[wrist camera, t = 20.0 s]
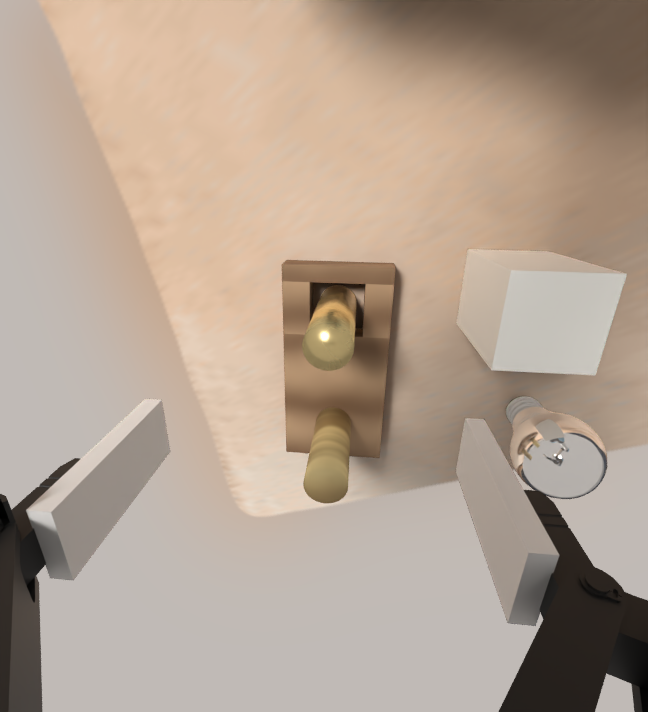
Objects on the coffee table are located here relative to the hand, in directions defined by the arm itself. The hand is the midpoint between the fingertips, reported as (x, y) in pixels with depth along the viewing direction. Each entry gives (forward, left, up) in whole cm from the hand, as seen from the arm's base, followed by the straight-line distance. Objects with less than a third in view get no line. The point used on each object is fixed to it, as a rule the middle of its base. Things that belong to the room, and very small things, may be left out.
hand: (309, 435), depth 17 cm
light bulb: (+10, +19, -23) cm, 31 cm away
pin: (0, 0, -23) cm, 23 cm away
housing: (-2, +15, -23) cm, 27 cm away
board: (+6, 0, -23) cm, 23 cm away
